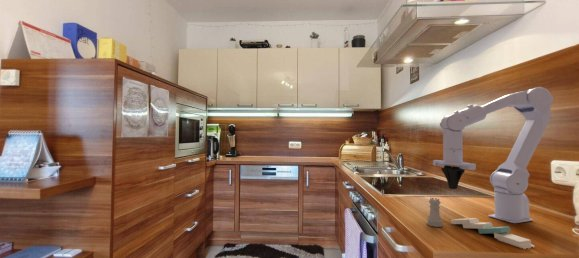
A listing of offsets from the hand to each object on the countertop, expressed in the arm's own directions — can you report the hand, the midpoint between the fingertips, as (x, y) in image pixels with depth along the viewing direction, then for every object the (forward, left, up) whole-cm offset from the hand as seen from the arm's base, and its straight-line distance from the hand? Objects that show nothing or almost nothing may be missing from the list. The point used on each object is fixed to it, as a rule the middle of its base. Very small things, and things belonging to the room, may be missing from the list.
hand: (453, 188), depth 91 cm
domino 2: (+6, +9, -9) cm, 14 cm away
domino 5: (+6, +19, -10) cm, 22 cm away
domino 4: (+6, +19, -8) cm, 21 cm away
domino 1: (+6, +6, -9) cm, 12 cm away
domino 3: (+6, +14, -9) cm, 18 cm away
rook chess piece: (+14, +5, -10) cm, 18 cm away
